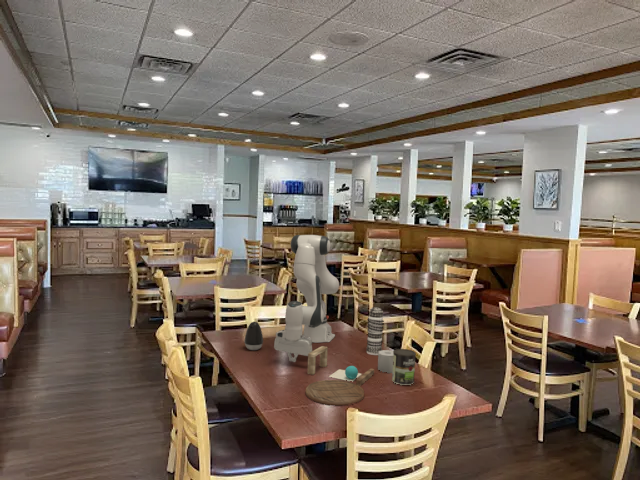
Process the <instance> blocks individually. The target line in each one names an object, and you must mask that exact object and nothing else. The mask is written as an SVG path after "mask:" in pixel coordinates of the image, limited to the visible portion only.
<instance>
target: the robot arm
mask: <svg viewBox="0 0 640 480" xmlns="http://www.w3.org/2000/svg"><path fill="white" fill-rule="evenodd" d="M290 250H291V251H292V253H293V254H295V255H294V256H295V257H294V260H293V261H294V262H293V275H294V278H296V283H295V285H296V288H297V289H298V291H299V292H300V293H301V294H302V295H303V296H304V298H305V301H306V305H303V303H302V302H301V301H300V300H299V301H298V300H293V301H289V302H288V303H287V304H286V309H285V316H284V317H285V318H284V320H285V325H284V326H285V327H284V329H282V330H279V331H277V332H275V339H274V343H273V344H274V346H273V348H274V350H276V351H277V352H283V353H287V356H288V361H289V362H292V363H296V362H297V358H298V357H299V355H301V356H305V357H308V354H309V353H310V352H312V351H313V345H312V344H313V343H329V342H330V343H331V341H332V340H333V339H334V338H335V337H336V334H335V333H332V326H331V325H330V324H329V323H328V319H329V315H327V314H326V312H327V311H326V310H327V304H326V302H325V301H324V300H323V297H322V296H323V295H333V294H336V293H337V292H338V291H339V288H340V282H339V280H338V278H337V277H336V276H334V275H333V274H332V273H331V272H330V271H329V269H328V268H327V263H326V262H327V261H326V255H328V254H329V252H330V250H331V240H330V238H329V237H328V236H326V235H317V234H301V235H300V234H297V235H294V236H293V237H292V238H291V241H290ZM292 354H293V355H292Z"/></svg>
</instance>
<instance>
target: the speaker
mask: <svg viewBox="0 0 640 480" xmlns="http://www.w3.org/2000/svg"><path fill="white" fill-rule="evenodd" d="M243 342H244V345H245V348H247V350H250V351H258V350H260V349H261V348H262V346H263V343H264V337H263V332H262V328H261V325H260V324H259V322H257V321H251V322H250V323H249V325H248V326H247V329H246V332H245V335H244V341H243Z"/></svg>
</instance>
